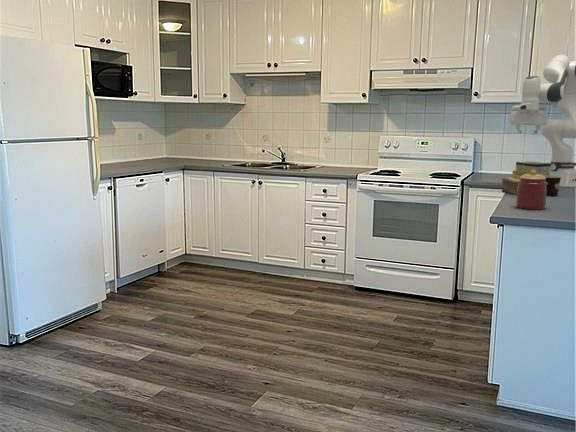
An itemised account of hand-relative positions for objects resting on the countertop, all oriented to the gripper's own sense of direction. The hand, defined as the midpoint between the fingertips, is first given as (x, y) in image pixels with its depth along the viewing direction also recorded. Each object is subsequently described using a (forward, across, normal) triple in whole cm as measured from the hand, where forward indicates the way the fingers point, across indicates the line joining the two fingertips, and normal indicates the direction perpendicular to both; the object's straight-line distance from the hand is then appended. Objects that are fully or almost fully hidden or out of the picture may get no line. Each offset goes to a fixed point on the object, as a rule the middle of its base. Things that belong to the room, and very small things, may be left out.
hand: (527, 133), depth 294 cm
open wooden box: (+32, 0, -4) cm, 32 cm away
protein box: (+31, -15, -14) cm, 37 cm away
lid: (+25, 0, -3) cm, 25 cm away
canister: (+36, +20, +37) cm, 55 cm away
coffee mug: (+32, -11, +6) cm, 35 cm away
